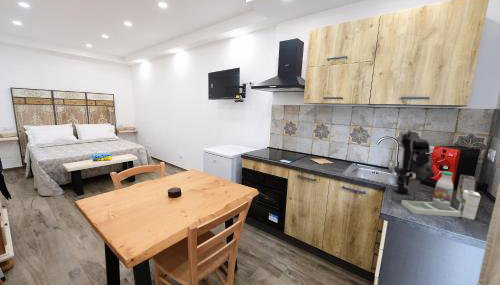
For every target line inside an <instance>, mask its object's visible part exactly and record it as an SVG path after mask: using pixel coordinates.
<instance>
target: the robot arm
mask: <svg viewBox="0 0 500 285" xmlns="http://www.w3.org/2000/svg"><path fill="white" fill-rule="evenodd" d="M400 147H401V148H402V149H403V151H402V159H401V167H395V168H394V171H393V172H394V173H395V174H397V175H396V177H395V179H394V182H395V184H396V189H394V190H393V191H394V192H396V193H397V194H399V195H407V196H408V195H409V196H410V193H409V190H408V189H407V188H405V187H404V182H405V185H406V186H407V185H408V181H409V178H410V177H413V176H414V175H415V177H414V178H415V179H417V180H419V181H420V183H422V182H423V180H424V179H428V178H435V173H434V172H433V169H432V168H427V167H426V168H425V165H427V164H428V163H429V162H430V158H429V156H428V155H427V154H429V153H430V151H431V148H430V147H431V146H430V144H429V142H428V140H427V139H424V138H421V137H420V136H419V133H418V132H415V131H408V132H407V133H405V134H403V135H401V137H400Z"/></svg>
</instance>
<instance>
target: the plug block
mask: <svg viewBox="0 0 500 285" xmlns="http://www.w3.org/2000/svg"><path fill="white" fill-rule="evenodd" d="M415 178H416V177H415V176H414V177H410V178H409V181H408V185H407V186H406V185H405V182H404V187H405V188H407V189H408V191H419V188H420V185H421V184H420V183H421V182H420V181H419V180H417V179H415Z"/></svg>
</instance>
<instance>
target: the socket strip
mask: <svg viewBox="0 0 500 285" xmlns="http://www.w3.org/2000/svg"><path fill="white" fill-rule="evenodd" d="M432 203H433V201H421V200H420V201H419V200H405V199H403V200H402V199H401V202H400V205H402V206H403V207H405V209H407V210H409V211H411V212H412V213H413V214H415V215H416V214H417V215H427V216H438V217H439V216H440V217H442V216H443V217H455V218H456V217H458V218H460V217H461V216H460V215H461V212H459V211H458V209H456V208H454V207H451V206H450V209H449V211H446V210H438V209H436V208H434V207H433V206H432Z"/></svg>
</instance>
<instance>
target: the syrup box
mask: <svg viewBox="0 0 500 285" xmlns="http://www.w3.org/2000/svg"><path fill="white" fill-rule="evenodd" d="M481 198H482V195H480V193H479V192H477V191H475V192H473V191H469V190H464V191H463V195H462V198H461V202H459V205H458V209H457V211H459V212H461V215H460V217H461V218H465V219H468V220H472V221H474V220H475V218H476V215H477V211H478V208H479V204H480V201H481Z"/></svg>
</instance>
